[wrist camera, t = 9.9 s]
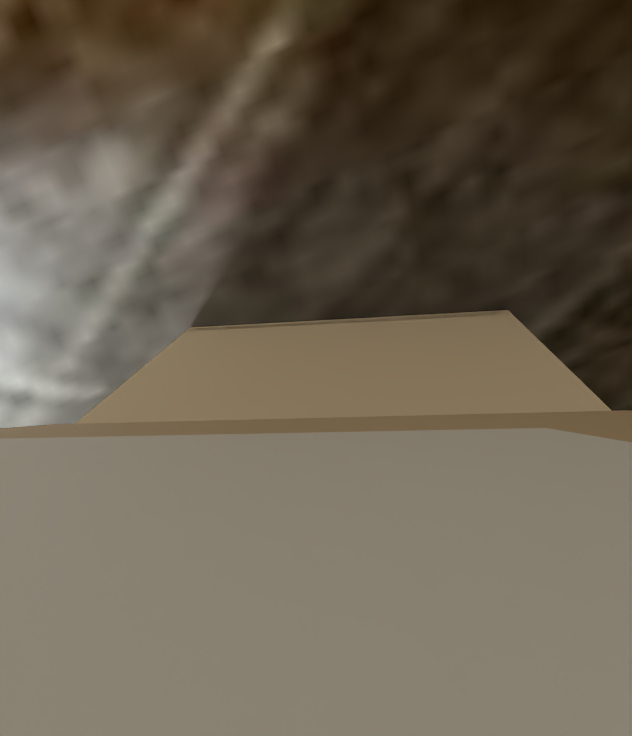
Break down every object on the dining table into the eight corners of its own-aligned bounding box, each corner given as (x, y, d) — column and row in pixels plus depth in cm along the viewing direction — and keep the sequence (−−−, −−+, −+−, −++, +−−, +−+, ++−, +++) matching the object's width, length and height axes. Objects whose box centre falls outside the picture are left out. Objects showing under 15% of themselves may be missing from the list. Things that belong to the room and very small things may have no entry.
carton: (485, 602, 32) (543, 820, 21) (246, 594, 35) (189, 786, 24) (508, 309, 24) (624, 422, 13) (190, 327, 26) (62, 434, 15)
